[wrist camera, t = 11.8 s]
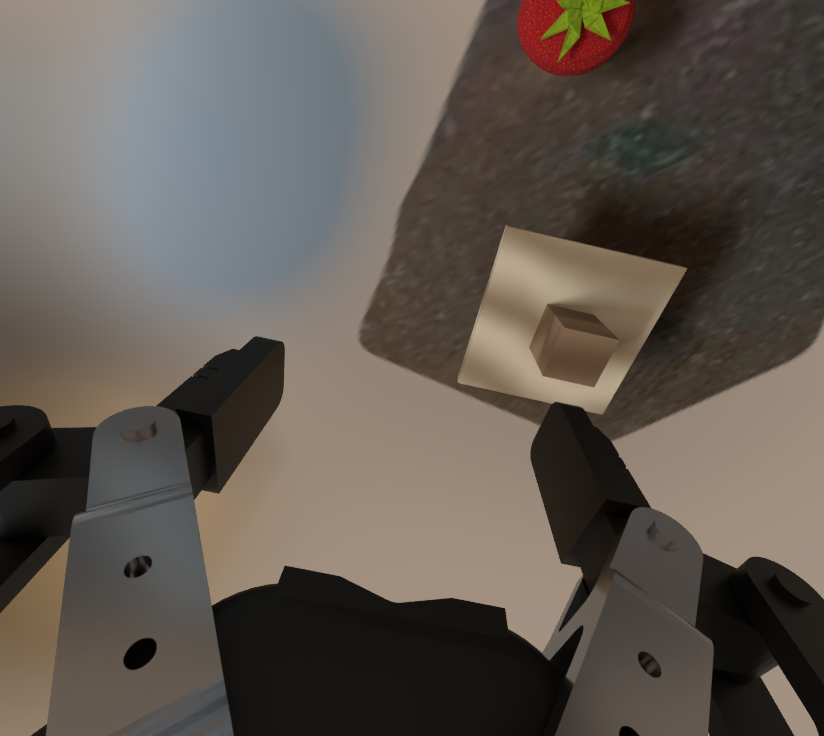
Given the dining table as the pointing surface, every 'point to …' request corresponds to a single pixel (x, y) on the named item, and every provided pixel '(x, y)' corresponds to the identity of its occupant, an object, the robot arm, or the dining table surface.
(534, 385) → the lid
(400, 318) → the dining table surface
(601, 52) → the strawberry
